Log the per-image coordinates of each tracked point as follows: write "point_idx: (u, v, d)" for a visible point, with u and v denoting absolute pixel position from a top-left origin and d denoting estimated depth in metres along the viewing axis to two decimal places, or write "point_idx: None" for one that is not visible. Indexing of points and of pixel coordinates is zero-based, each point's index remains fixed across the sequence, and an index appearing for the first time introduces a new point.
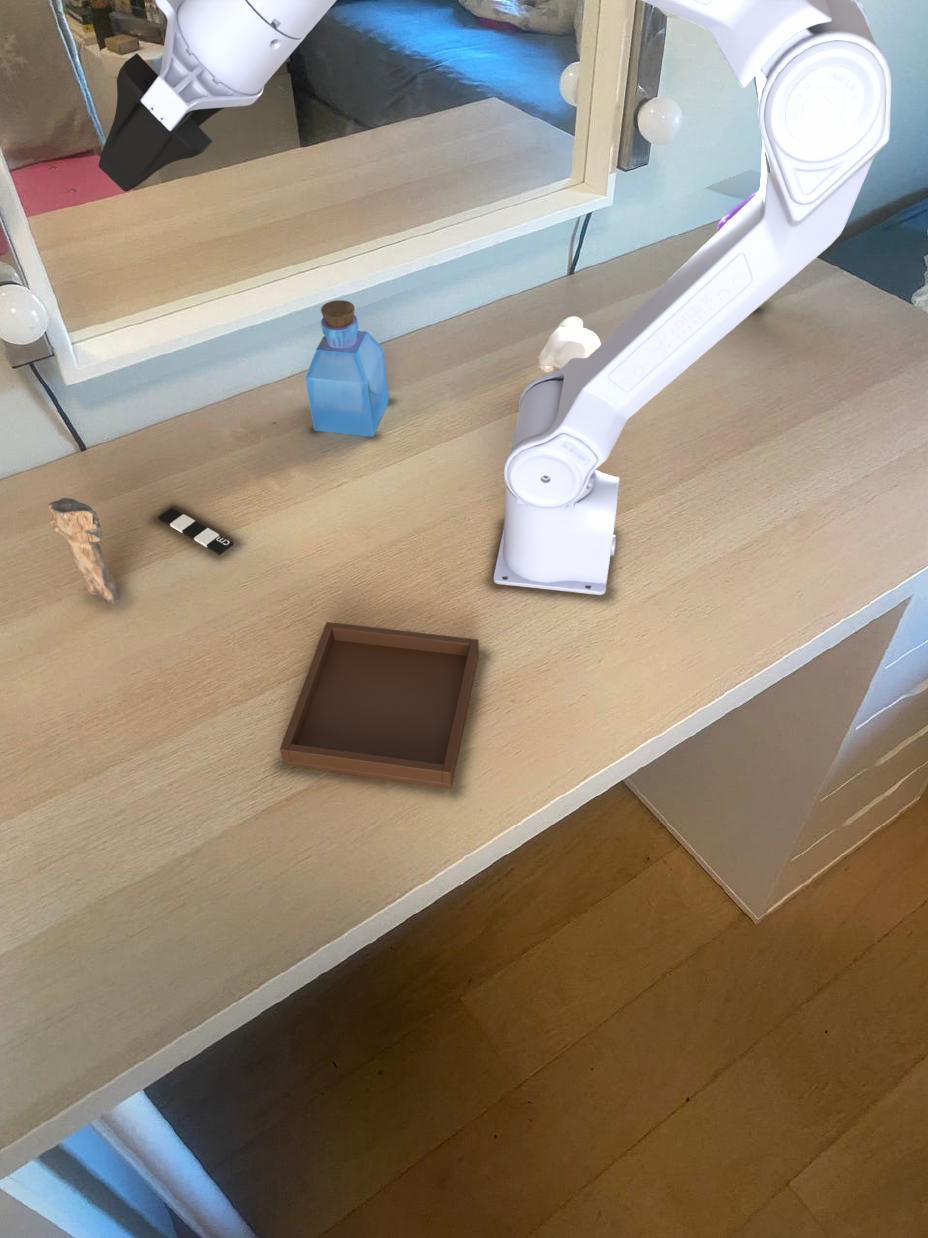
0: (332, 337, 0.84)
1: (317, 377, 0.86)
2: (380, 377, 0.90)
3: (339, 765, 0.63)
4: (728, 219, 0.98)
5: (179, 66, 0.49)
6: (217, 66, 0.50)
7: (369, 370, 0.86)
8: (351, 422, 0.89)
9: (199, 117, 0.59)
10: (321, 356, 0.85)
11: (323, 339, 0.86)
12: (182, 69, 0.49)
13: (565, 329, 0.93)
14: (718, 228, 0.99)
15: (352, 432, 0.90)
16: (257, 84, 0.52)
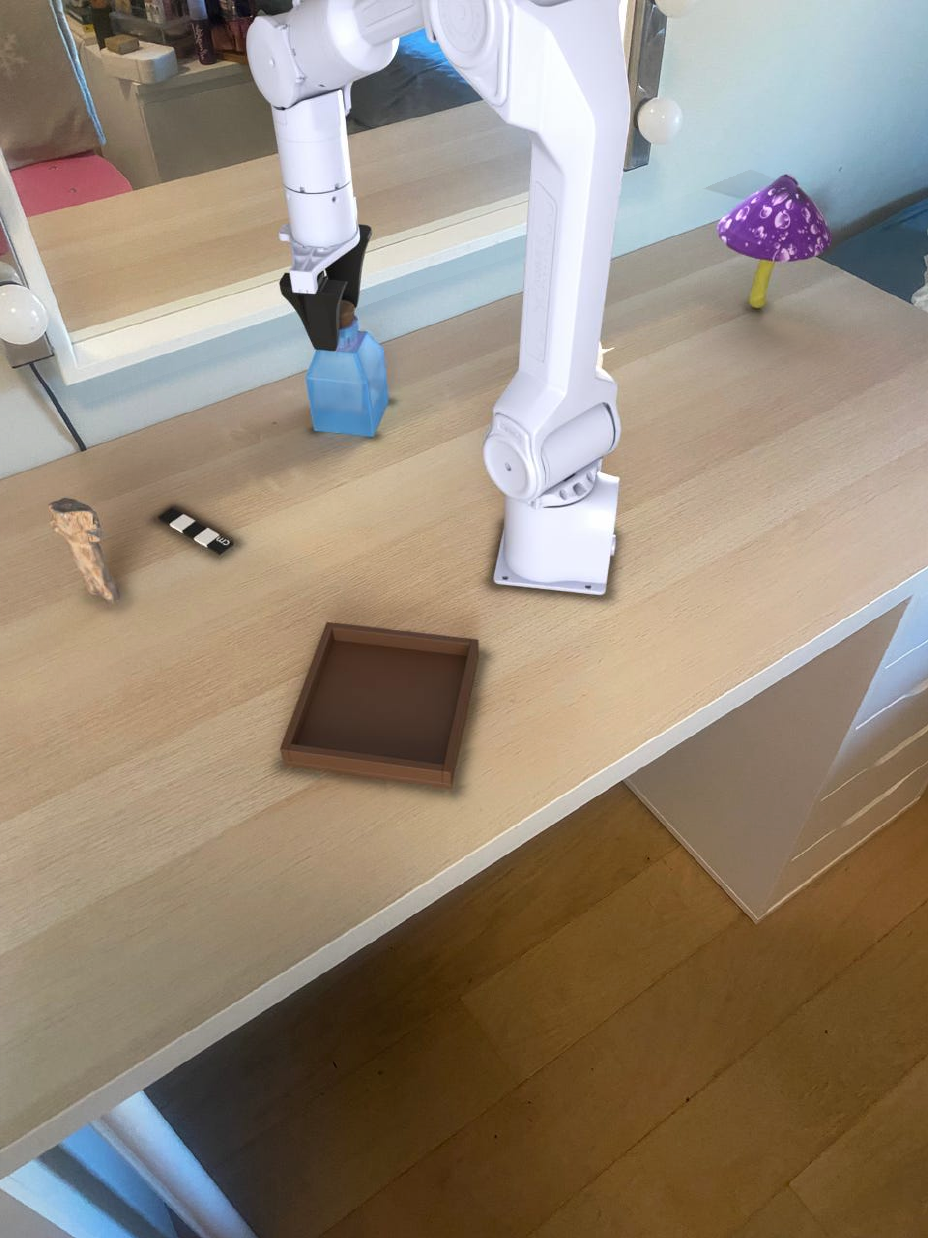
0: None
1: (317, 377, 0.86)
2: (380, 377, 0.90)
3: (339, 765, 0.63)
4: (728, 219, 0.98)
5: (301, 258, 0.75)
6: (320, 240, 0.76)
7: (370, 370, 0.86)
8: (351, 422, 0.89)
9: (355, 280, 0.85)
10: (321, 356, 0.85)
11: None
12: (303, 258, 0.75)
13: None
14: (718, 228, 0.99)
15: (352, 432, 0.90)
16: (348, 230, 0.76)
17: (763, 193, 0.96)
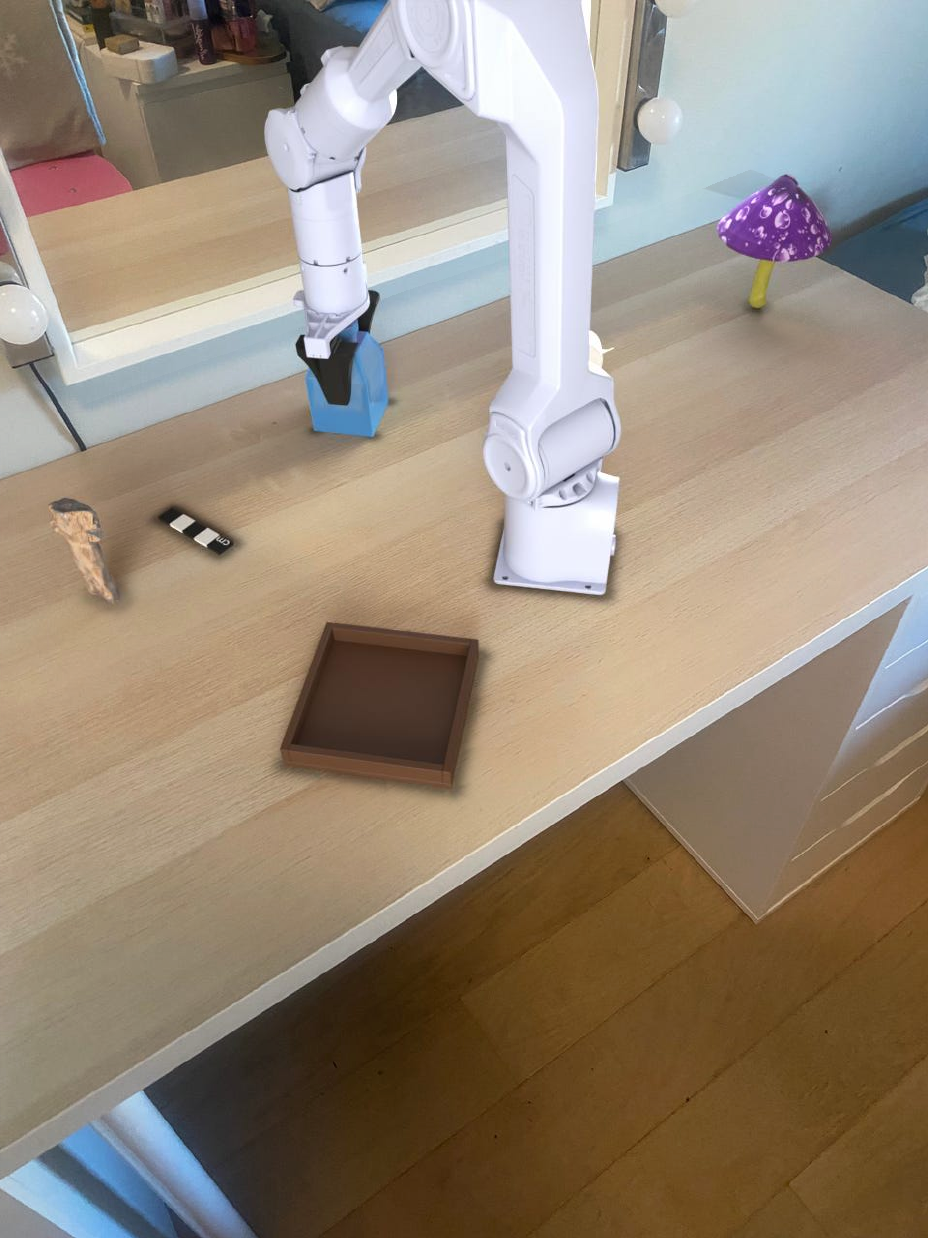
0: None
1: None
2: (380, 377, 0.90)
3: (339, 765, 0.63)
4: (728, 219, 0.98)
5: (314, 324, 0.80)
6: (333, 307, 0.81)
7: (369, 370, 0.86)
8: (351, 422, 0.89)
9: None
10: None
11: None
12: (316, 324, 0.80)
13: None
14: (718, 228, 0.99)
15: (352, 432, 0.90)
16: (358, 297, 0.81)
17: (763, 193, 0.96)
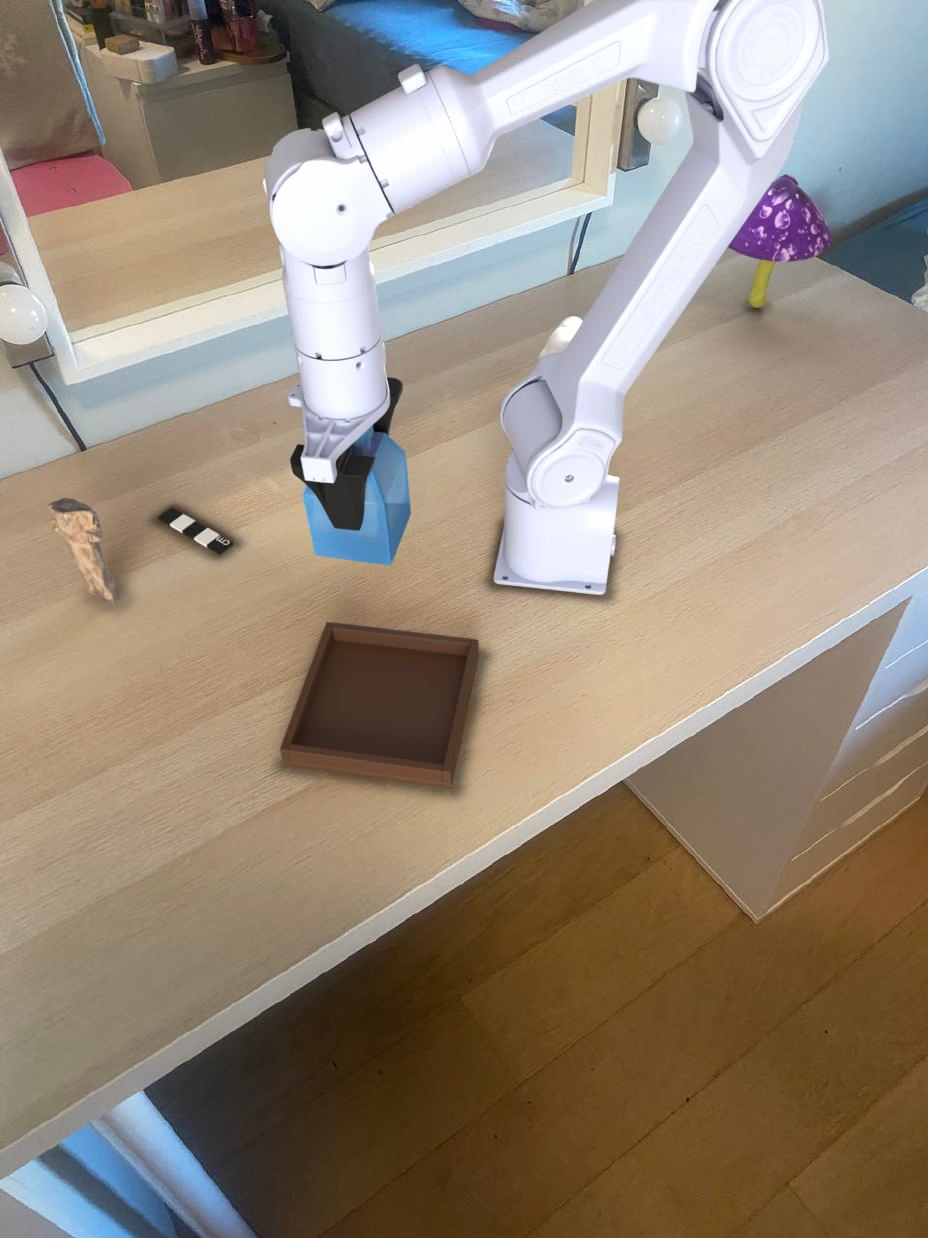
0: None
1: None
2: (401, 489, 0.69)
3: (339, 765, 0.63)
4: None
5: (316, 436, 0.59)
6: (341, 412, 0.60)
7: (388, 485, 0.65)
8: (362, 548, 0.68)
9: None
10: None
11: None
12: (318, 436, 0.59)
13: (565, 329, 0.93)
14: None
15: (364, 559, 0.69)
16: (375, 397, 0.60)
17: None
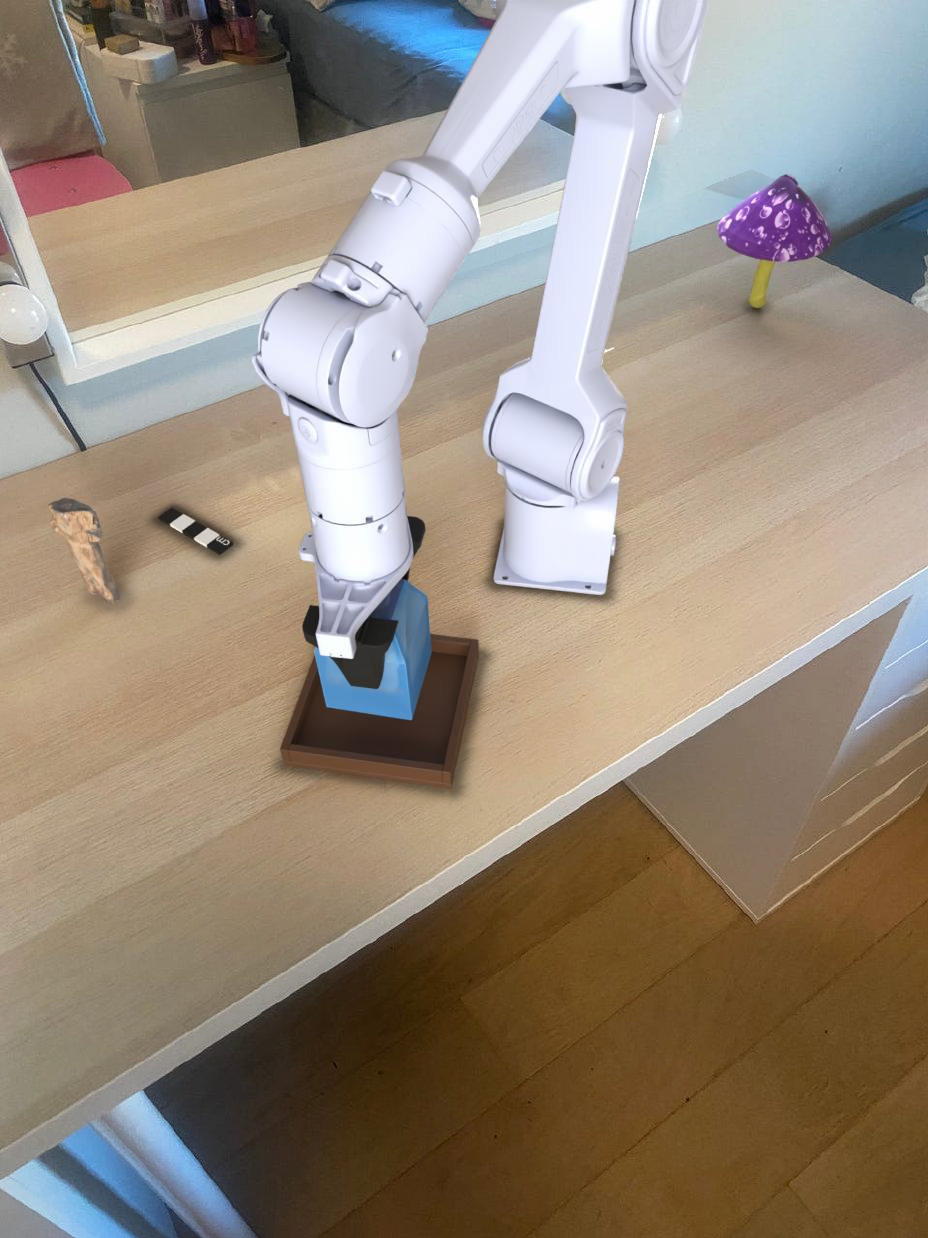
0: None
1: None
2: (422, 635, 0.62)
3: (339, 765, 0.63)
4: (728, 219, 0.98)
5: (332, 604, 0.52)
6: (360, 574, 0.53)
7: (409, 640, 0.59)
8: (380, 703, 0.61)
9: None
10: None
11: None
12: (335, 603, 0.52)
13: None
14: (718, 228, 0.99)
15: (381, 712, 0.62)
16: (398, 556, 0.53)
17: (763, 193, 0.96)
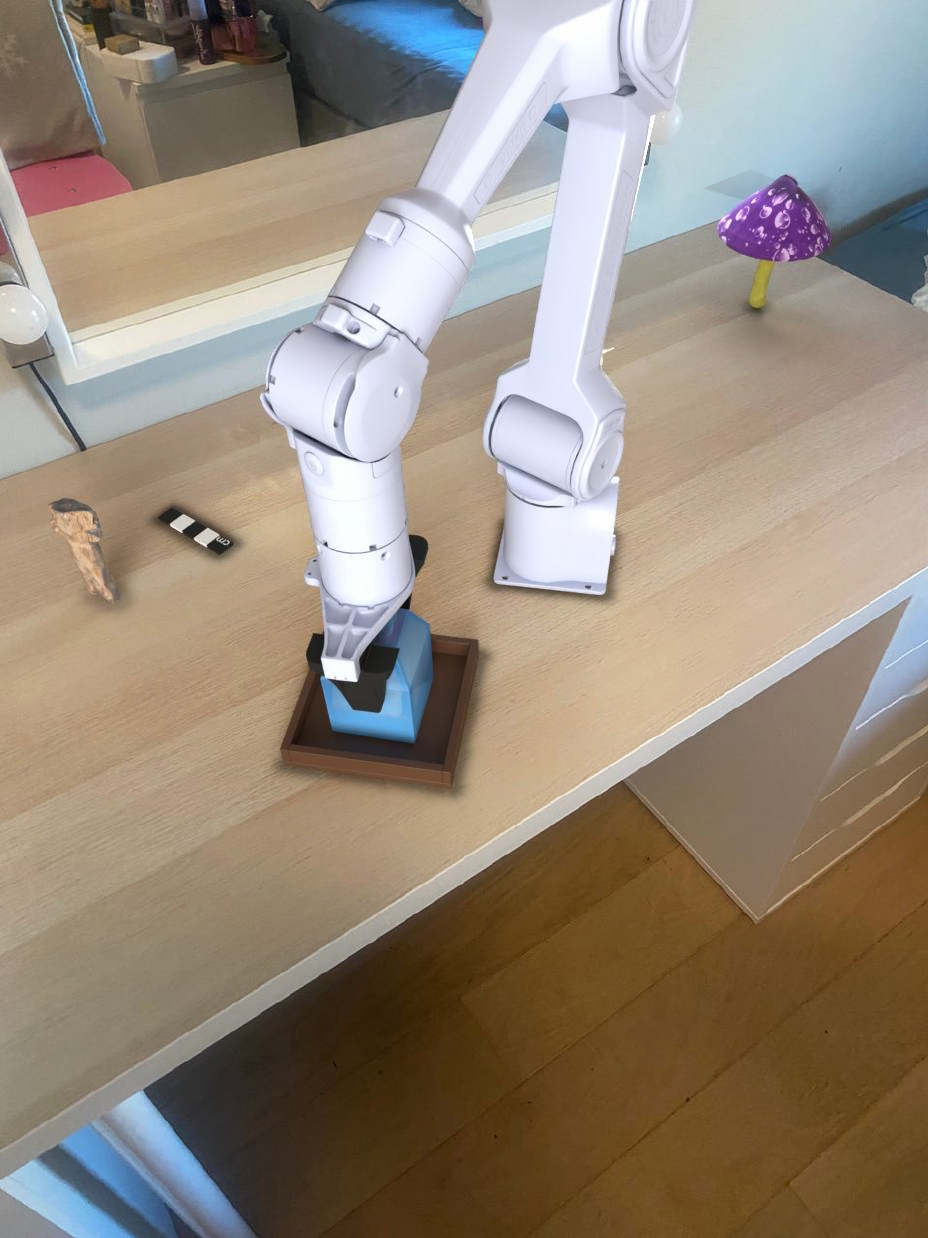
0: None
1: None
2: (425, 662, 0.64)
3: (339, 765, 0.63)
4: (728, 219, 0.98)
5: (337, 628, 0.54)
6: (364, 599, 0.54)
7: (412, 668, 0.61)
8: (384, 728, 0.64)
9: (404, 601, 0.64)
10: None
11: None
12: (340, 628, 0.54)
13: None
14: (718, 228, 0.99)
15: (385, 736, 0.65)
16: (401, 581, 0.55)
17: (763, 193, 0.96)
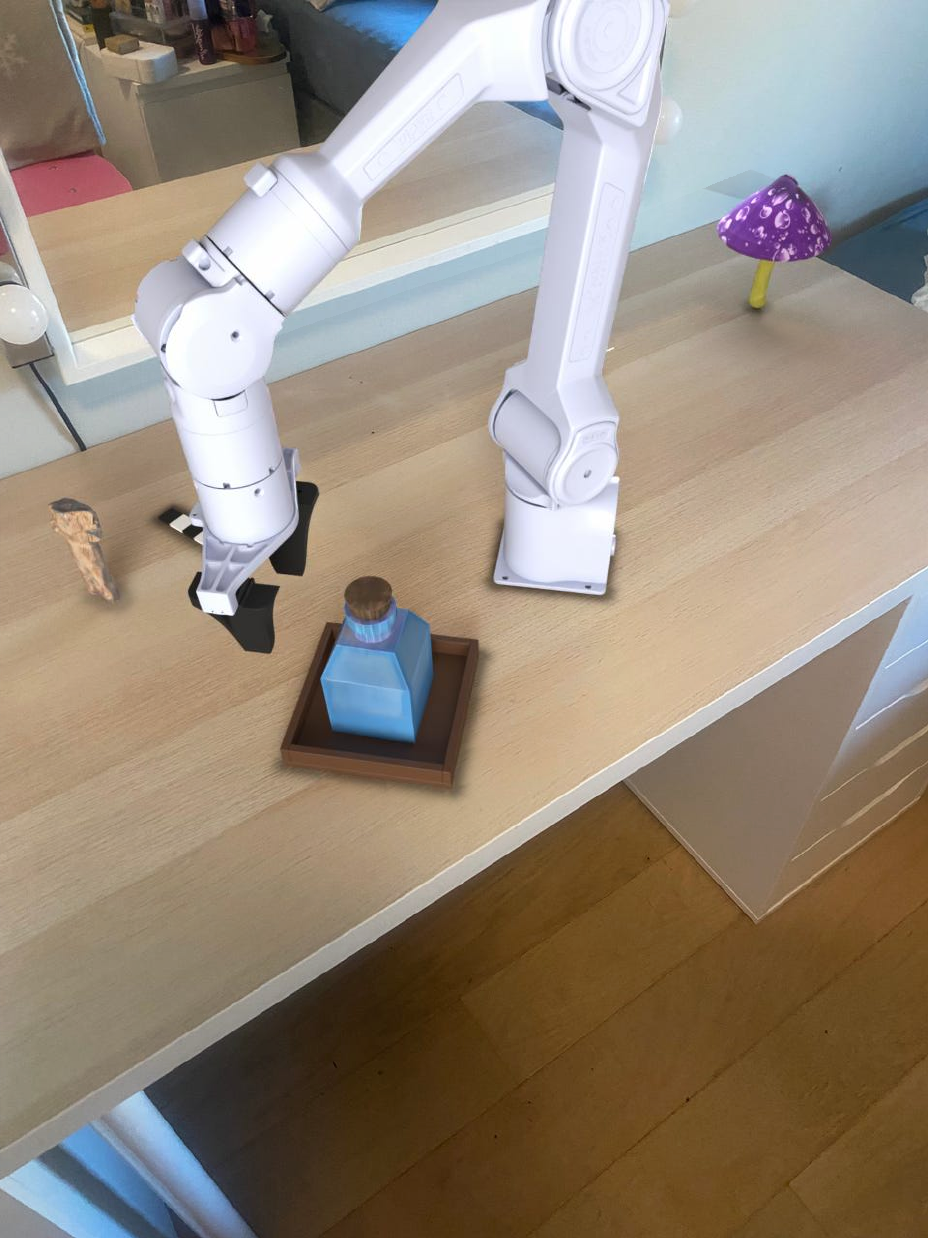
0: (360, 632, 0.58)
1: (338, 679, 0.61)
2: (425, 662, 0.64)
3: (339, 765, 0.63)
4: (728, 219, 0.98)
5: (215, 564, 0.55)
6: (242, 537, 0.56)
7: (412, 668, 0.61)
8: (384, 728, 0.64)
9: (299, 548, 0.65)
10: (344, 653, 0.60)
11: (346, 624, 0.61)
12: (218, 564, 0.55)
13: None
14: (718, 228, 0.99)
15: (385, 736, 0.65)
16: (280, 520, 0.57)
17: (763, 193, 0.96)
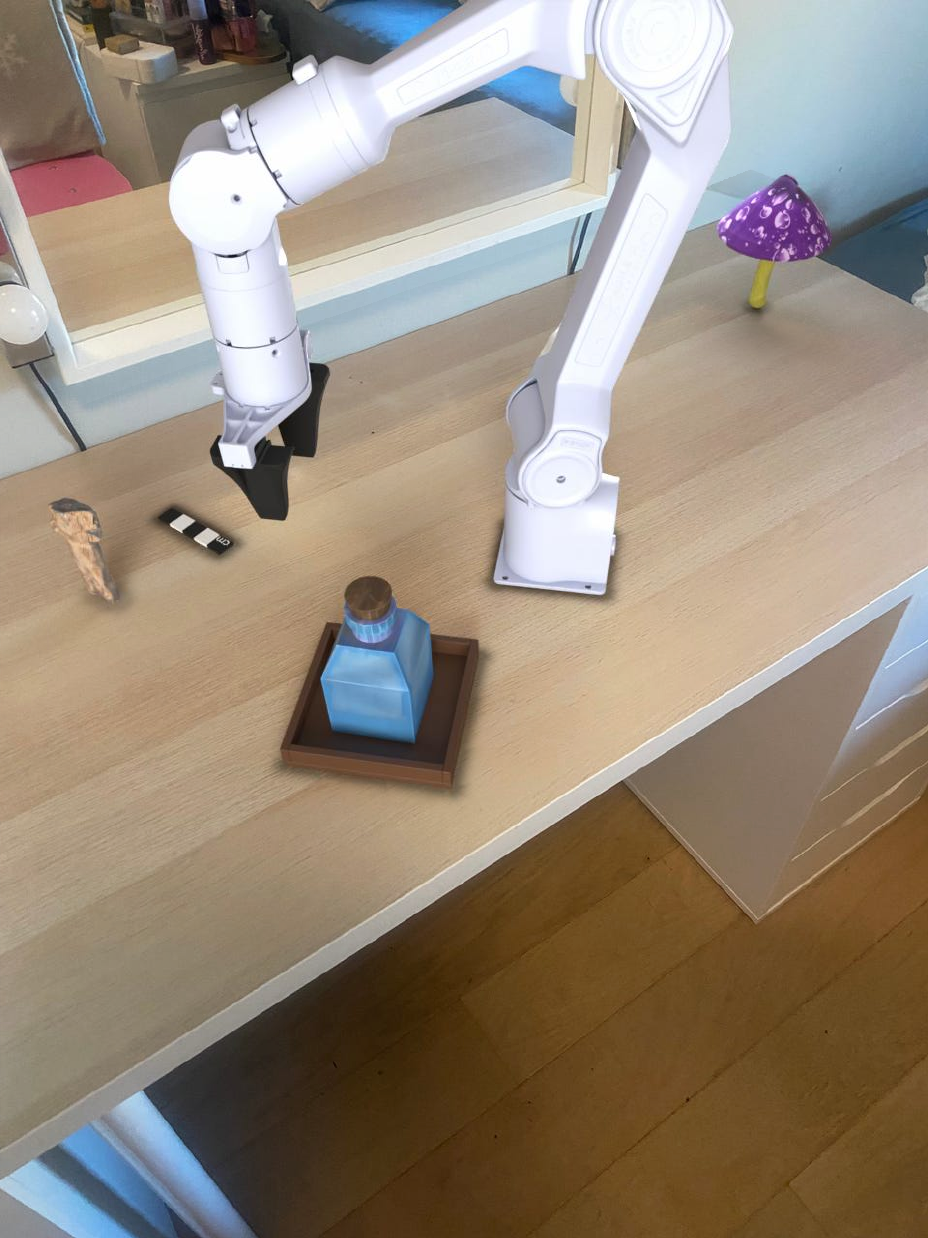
0: (360, 632, 0.58)
1: (338, 679, 0.61)
2: (425, 662, 0.64)
3: (339, 765, 0.63)
4: (728, 219, 0.98)
5: (235, 423, 0.60)
6: (260, 399, 0.61)
7: (412, 668, 0.61)
8: (384, 728, 0.64)
9: (311, 427, 0.70)
10: (344, 653, 0.60)
11: (346, 624, 0.61)
12: (238, 422, 0.60)
13: None
14: (718, 228, 0.99)
15: (385, 736, 0.65)
16: (294, 384, 0.61)
17: (763, 193, 0.96)
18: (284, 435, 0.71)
